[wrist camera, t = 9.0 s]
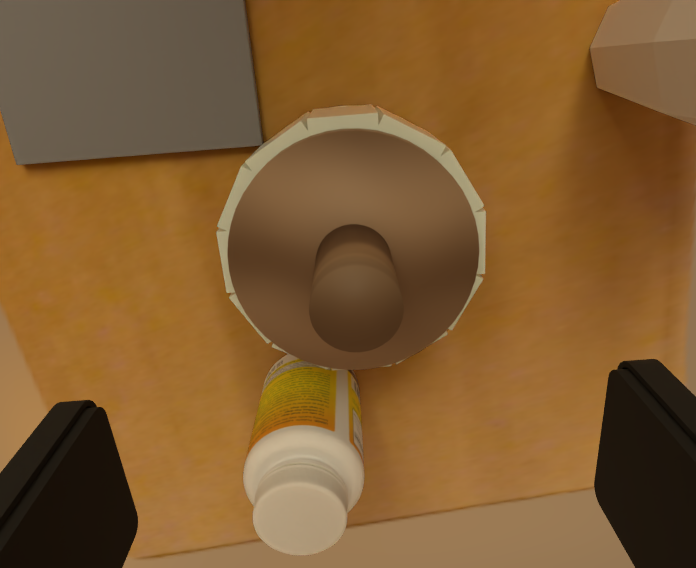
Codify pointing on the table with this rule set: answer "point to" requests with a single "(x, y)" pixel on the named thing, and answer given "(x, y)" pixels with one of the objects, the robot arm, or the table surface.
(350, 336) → the lid
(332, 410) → the supplement bottle
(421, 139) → the bowl
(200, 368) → the table surface
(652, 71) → the low poly bottle
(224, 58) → the mat
